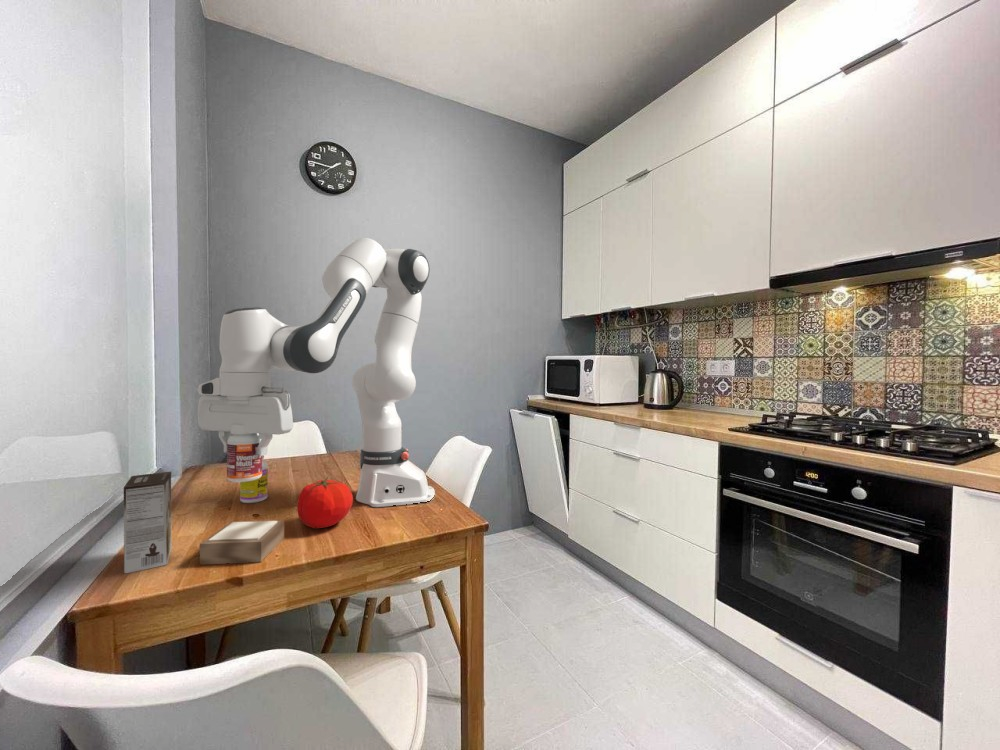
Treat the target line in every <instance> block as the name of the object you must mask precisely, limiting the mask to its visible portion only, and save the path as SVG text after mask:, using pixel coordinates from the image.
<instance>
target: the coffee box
mask: <svg viewBox="0 0 1000 750" xmlns="http://www.w3.org/2000/svg"><path fill="white" fill-rule="evenodd" d="M172 543H173V542H172V471H163V472H155V473H146V474H138V475H131V476H130V478H128V481H127V482H126V483H125V485H124V486H123V572H124V574H131V573H134V572H139V571H145V570H148V569H153V568H158V567H163V566H166V565H168V562H169V559H170V555H171V552H172V545H173V544H172Z"/></svg>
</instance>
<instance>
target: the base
mask: <svg viewBox="0 0 1000 750" xmlns="http://www.w3.org/2000/svg"><path fill="white" fill-rule="evenodd" d="M284 539H285V520H258V521H255V520H254V521H253V520H251V521H230V522H228V523H227V524H226V525H224V526H223V527H221V528H220V529H219V530H217V531H216V532H214V533H213V534H212V535H210V536H208V537H207V538H206V539H205V540H203V541H202V542H200V543H199V565H200V566H201V565H225V564H226V563H229V564H244V563H245V564H246V563H247V564H248V562H253V563H262V562H263V561H264V560H265V559H266V558H267V557H268V556H269V555H270V554H271V553H270V552H273V550H275V548H276V547H277V546H278V545H279V544H280V543H281V542H283V540H284ZM269 553H270V554H269ZM268 554H269V555H268ZM267 555H268V556H267ZM266 556H267V557H266ZM265 557H266V558H265ZM264 558H265V559H264ZM263 559H264V560H263ZM262 560H263V561H262Z"/></svg>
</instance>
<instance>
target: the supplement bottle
mask: <svg viewBox="0 0 1000 750" xmlns="http://www.w3.org/2000/svg"><path fill="white" fill-rule="evenodd" d="M264 458H265V455H263V456H262V476H261V477H260V478H259V479H256V480H252V481H246V482H239V500H240V502H241V503H244V504H254V503H259V502H263V501H265V500H266V499H267V498H268V492H269V491H268V488H269V487H268V485H269V484H268V483H269V482H268V480H269V478H268V477H269V475H268V474H269V473H268V472H269V471H268V470H269V465H268V464H267V462H266V461H265V462H264Z"/></svg>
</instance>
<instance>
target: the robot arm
mask: <svg viewBox="0 0 1000 750" xmlns="http://www.w3.org/2000/svg"><path fill="white" fill-rule="evenodd" d="M430 270H431V269H430V264H429V260H428V259H427V257H426V255H425V253H423V252H422V251H420V250H417V249H412V248H406V249H404V248H383V246H382V245H381V244H380V243H378V242H377V240H374V239H373V238H369V237H362V238H358V239H356V240H354V241H353V242H352V243H350V244H349V245H348V246H346V247H345V248H344V249H343V250H341V251H340V252H339V254H337V255H336V256H335V257H334V258H333V260H331V262H329V264H328V265H327V267H326V268H325V270H324V272H323V273H322V276H321V281H322V285H323V289H324V291H325V292H326V294H327V295H328V296H329V297H330V298H331V299H330V300H329V301H328V303H327V304H326V306H325V307H324V308H323V310H322V311H321V313H320V314H319V315H318V317H317V318H316V319H315V320H313V321H311V322H309V323H307V324H303V325H299V326H298V325H296V326H290V325H289V324H286V323H284V322H282V321H280V320H279V319H277V318H276V317H275V316H273V315H271V314H270V313H269V311H268V310H267V309H266V308H263V307H256V306H255V307H253V306H252V307H241V308H233V309H229V310H227V311H226V312H225V313H224V314H223V316H222V319H221V323H220V333H219V352H220V353H219V354H220V356H221V365H220V367H219V377H216V378H214V379H211V380H209V381H205V382H203V383H200V384H199V385H198V387H197V392H198V394H199V396H200V397H199V399H198V402H197V423H198V424H197V425H198V426H199V428H200V429H201V430H202V431H211V432H212V431H214V432H215V431H216V432H218V438H219V439H220V442H221V443H222V445H223V453H224V454H227V441H228V439H229V438H230V437H231V436H233V434H232V433H230V430H231V429H230V427H231V424H232V425H245V426H246V432H247V433H257V434H258V435H259V439H261V441H260V443H259V445H258V446H257V447H255V455H258V456H263V455H264V456H266V455H267V454H268V446H269V445H270V443H271V440H273V438H274V437H273V435H278V436H279V435H284V434H288V433H290V432H291V431H292V429H293V428H294V419H293V417H294V416H293V410H292V409H293V408H292V404H291V396H290V393H288V391H287V390H286V389H284V387H271V369H272V368H273V369H275V370H281V371H290V372H292V371H293V372H304V373H307V374H319V373H322V372H324V371H326V370H328V369H329V368H330V367H331V366H332V365H333V363H334V361H335V359H336V358H337V355H338V353H339V352H338V351H339V348H340V345H341V342H342V339H343V337H344V335H345V334H346V332H347V331H348V329H349V328H350V326H351V325H352V323H353V322H354V320H355V319H356V318H357V315H358V314H359V312H360V311H361V309H362V307H363V305H364V303H365V300H366V298H367V295H368V293H369V291H370V290H371V289H372V288H381V289H382V288H383V289H386V294H387V295H386V296H387V297H386V299H385V302H384V305H383V307H382V310H381V314H380V317H379V321H378V324H377V328H376V332H375V335H374V343H375V346H376V348H375V349H376V358H375V362H374V363H367V364H365V365H362V366H361V367H359V368H357V369H356V370H355V372H354V373H353V375H352V378H351V380H352V381H351V384H352V387H353V390H354V391H355V394H356V397H357V402H358V407H359V408H358V409H359V412H360V417H361V429H362V430H361V444H362V447H361V449H360V453H359V465H360V478H359V484H358V489H357V493H356V496H355V500H356V502H359V503H362V504H366V505H369V506H370V507H373V508H384V507H392V506H393V505H396V506H405V505H406V504H407V505H414V504H413V503H418V504H421V503H420V502H427V501H430V500H431V499H432V498H433V497H434V495H435V496H436V491H435V489H434V487H432V486H431V485H428V480H427V476H426V473H425V472H424V470H422V469H421V468H419V467H418V466H416V465H415V464H414V463H413V462H411V461H410V460H409V458H410V457H409V456H410V454H409V449H408V448H406V449H405V448H404V447H403V446H402V437H403V436H402V429H403V427H402V424H403V423H402V419H401V417H400V416H399V414H398V412H397V407H396V404H395V403H399V402H402V401H406V400H408V399H409V398H410V397H411V396H412V395H413V394H414V392H415V390H416V387H417V381H416V376H415V374H414V372H413V368H412V352H413V345H414V341H415V338H416V333H417V329H418V325H419V321H420V317H421V311H422V302H423V301H422V300H423V297H422V293H421V292H422V290H423V289H424V288H425V285H426V284H427V281H428V279H429V277H430ZM434 498H435V497H434ZM434 498H433V499H434ZM433 499H432V500H433ZM432 500H431V501H432ZM431 501H430V502H431ZM427 503H428V502H427ZM393 507H394V506H393Z"/></svg>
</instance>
